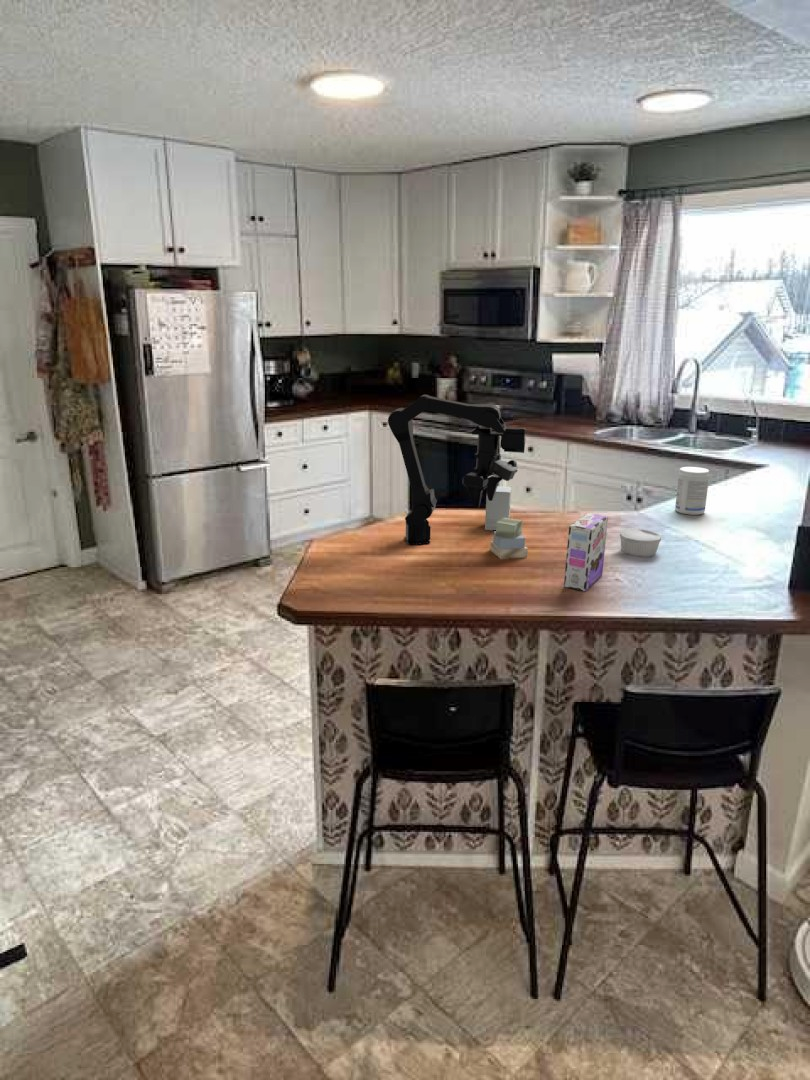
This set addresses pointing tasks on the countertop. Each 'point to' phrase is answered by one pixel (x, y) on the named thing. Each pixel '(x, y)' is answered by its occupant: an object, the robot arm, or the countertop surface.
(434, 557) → the countertop surface
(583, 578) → the candy box
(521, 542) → the slate blue top block
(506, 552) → the birch base block
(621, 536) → the ramekin
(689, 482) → the supplement tub
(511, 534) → the green block
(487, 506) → the supplement box
